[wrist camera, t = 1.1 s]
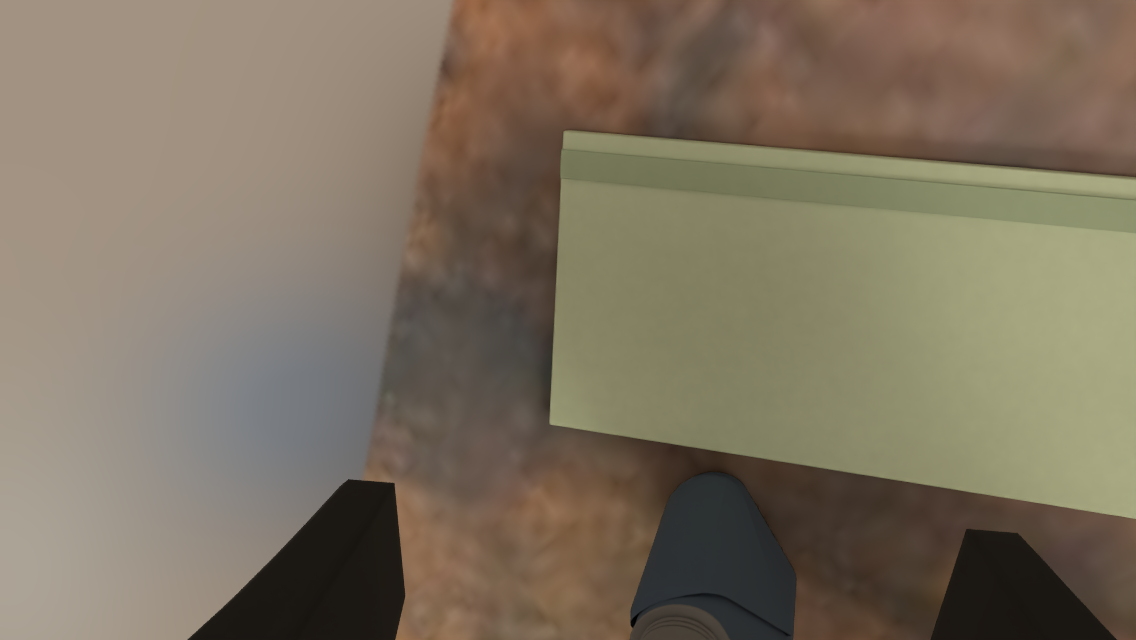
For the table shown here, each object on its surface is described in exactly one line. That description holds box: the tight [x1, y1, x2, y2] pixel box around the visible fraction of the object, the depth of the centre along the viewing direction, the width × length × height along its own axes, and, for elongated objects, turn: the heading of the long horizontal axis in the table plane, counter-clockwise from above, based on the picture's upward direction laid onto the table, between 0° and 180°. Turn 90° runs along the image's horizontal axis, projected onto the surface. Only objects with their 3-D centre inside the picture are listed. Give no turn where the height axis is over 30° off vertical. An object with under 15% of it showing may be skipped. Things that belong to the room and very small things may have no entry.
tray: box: [549, 130, 1136, 519], centre depth 25 cm, size 9×18×1 cm, turn 87°
